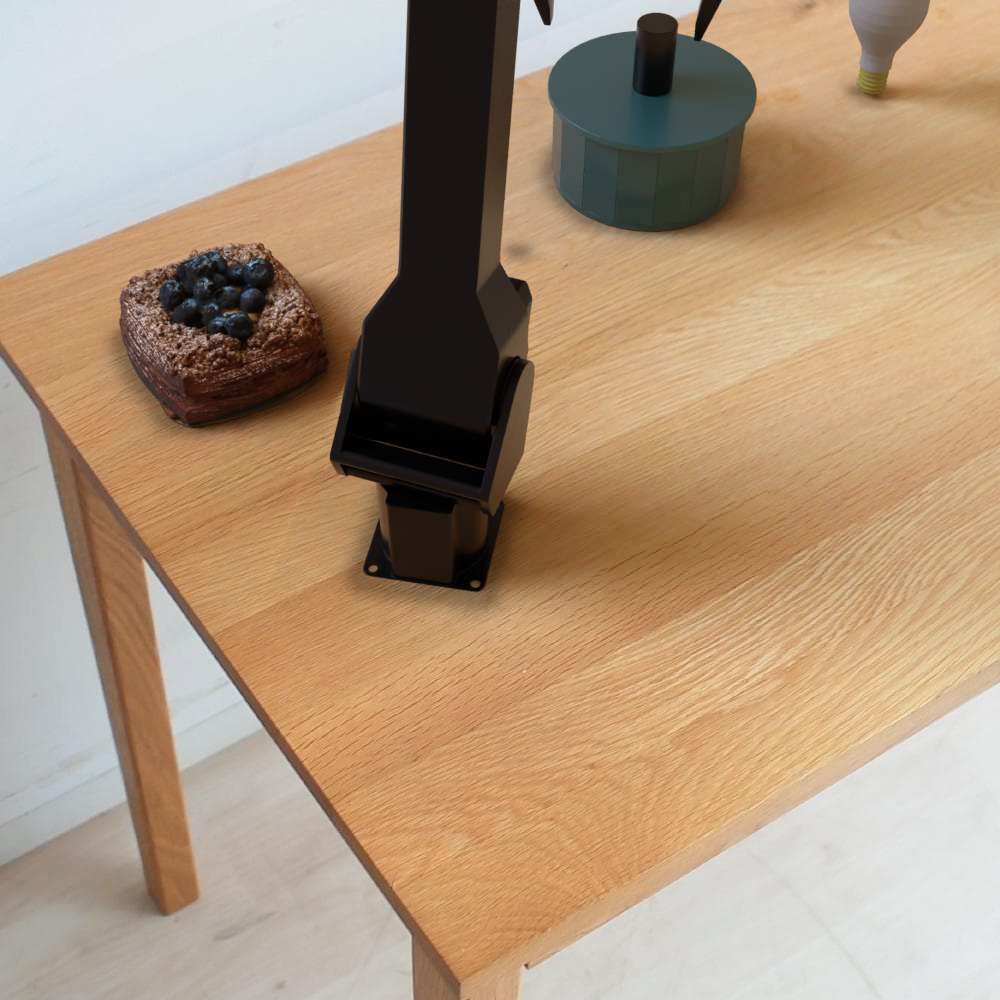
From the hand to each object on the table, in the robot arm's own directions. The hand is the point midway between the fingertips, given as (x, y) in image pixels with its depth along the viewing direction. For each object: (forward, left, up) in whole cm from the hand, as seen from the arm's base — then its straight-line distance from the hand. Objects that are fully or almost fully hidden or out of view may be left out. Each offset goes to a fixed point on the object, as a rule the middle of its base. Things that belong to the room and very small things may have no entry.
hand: (622, 30), depth 88 cm
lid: (+3, -2, -6) cm, 7 cm away
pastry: (-19, +21, -13) cm, 31 cm away
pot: (+3, -2, -13) cm, 13 cm away
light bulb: (+16, -17, -13) cm, 27 cm away
